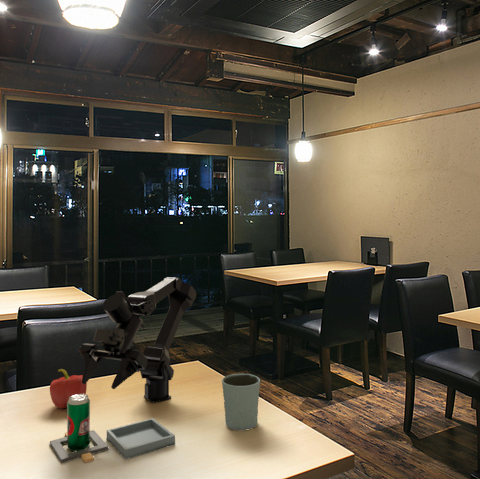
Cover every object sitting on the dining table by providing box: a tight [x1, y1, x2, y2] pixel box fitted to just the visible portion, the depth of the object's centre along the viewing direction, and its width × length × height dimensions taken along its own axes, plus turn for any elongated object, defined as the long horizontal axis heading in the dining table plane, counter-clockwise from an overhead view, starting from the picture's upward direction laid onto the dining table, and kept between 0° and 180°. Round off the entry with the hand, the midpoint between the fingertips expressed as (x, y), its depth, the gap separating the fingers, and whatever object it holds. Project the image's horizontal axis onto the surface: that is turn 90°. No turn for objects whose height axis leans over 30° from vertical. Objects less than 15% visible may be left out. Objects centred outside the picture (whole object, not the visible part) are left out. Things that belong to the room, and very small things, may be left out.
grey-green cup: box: [221, 373, 261, 431], centre depth 120 cm, size 10×10×12 cm
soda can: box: [66, 393, 91, 452], centre depth 106 cm, size 5×5×12 cm
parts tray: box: [106, 417, 176, 460], centre depth 109 cm, size 12×12×2 cm
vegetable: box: [49, 368, 88, 409], centre depth 132 cm, size 11×10×10 cm
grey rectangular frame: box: [49, 429, 109, 464], centre depth 107 cm, size 11×17×1 cm, turn 36°
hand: (97, 385), depth 113 cm, fingers open, 9 cm apart
